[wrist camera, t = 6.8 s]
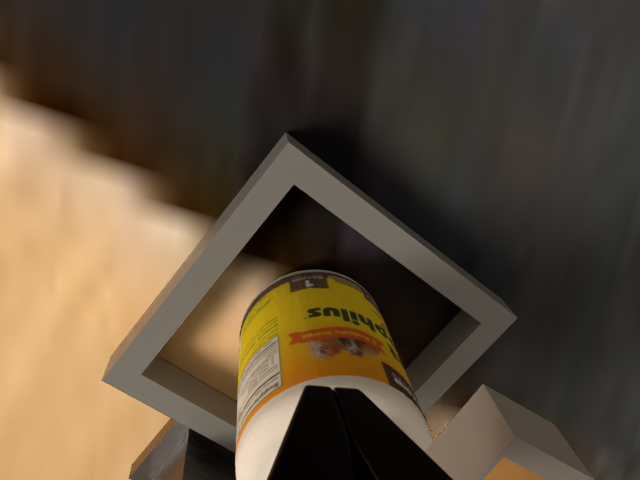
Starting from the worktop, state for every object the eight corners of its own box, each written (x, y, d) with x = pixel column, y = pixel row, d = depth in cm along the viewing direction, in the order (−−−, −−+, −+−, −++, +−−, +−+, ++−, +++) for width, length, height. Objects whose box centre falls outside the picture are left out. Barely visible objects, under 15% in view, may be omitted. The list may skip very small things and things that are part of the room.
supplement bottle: (407, 309, 24) (512, 511, 14) (323, 406, 25) (368, 651, 16) (295, 234, 22) (330, 408, 13) (210, 343, 23) (186, 574, 14)
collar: (501, 298, 24) (517, 317, 23) (329, 478, 27) (334, 506, 25) (285, 132, 21) (288, 142, 19) (110, 356, 23) (101, 380, 22)
